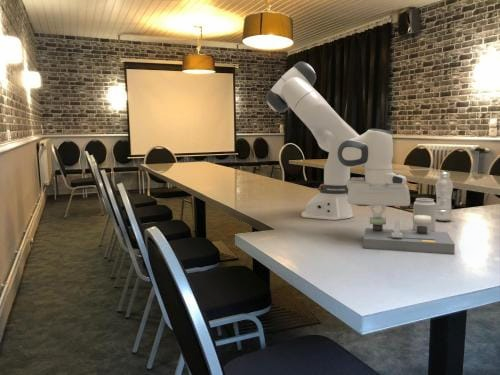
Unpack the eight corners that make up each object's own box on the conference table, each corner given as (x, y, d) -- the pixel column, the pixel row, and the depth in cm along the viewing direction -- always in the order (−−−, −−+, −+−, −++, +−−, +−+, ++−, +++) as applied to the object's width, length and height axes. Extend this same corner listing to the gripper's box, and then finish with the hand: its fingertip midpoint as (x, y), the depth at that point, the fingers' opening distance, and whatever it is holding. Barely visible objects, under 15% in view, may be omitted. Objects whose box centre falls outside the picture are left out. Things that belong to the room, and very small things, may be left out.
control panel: (363, 248, 130) (363, 232, 130) (365, 236, 145) (365, 222, 145) (454, 254, 122) (455, 237, 122) (446, 240, 137) (447, 226, 137)
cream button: (414, 222, 135) (414, 217, 134) (413, 219, 139) (413, 214, 139) (431, 223, 133) (431, 218, 133) (430, 220, 138) (430, 215, 138)
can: (433, 229, 155) (435, 197, 153) (435, 233, 148) (437, 200, 146) (412, 228, 157) (413, 196, 156) (413, 232, 150) (414, 199, 149)
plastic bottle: (454, 222, 166) (456, 172, 163) (436, 222, 167) (437, 172, 165) (449, 219, 172) (451, 171, 170) (432, 219, 173) (434, 171, 171)
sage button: (369, 224, 139) (369, 219, 139) (370, 221, 144) (370, 216, 144) (385, 225, 137) (385, 219, 137) (385, 222, 142) (385, 216, 142)
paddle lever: (391, 237, 129) (392, 221, 128) (391, 234, 133) (391, 218, 133) (402, 238, 128) (403, 221, 127) (402, 234, 132) (402, 218, 132)
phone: (361, 199, 224) (373, 203, 209) (361, 201, 224) (373, 206, 209) (347, 200, 223) (359, 204, 208) (347, 202, 223) (359, 206, 208)
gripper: (346, 177, 139) (345, 218, 141) (411, 179, 133) (409, 221, 134) (347, 176, 145) (347, 214, 147) (410, 177, 139) (408, 217, 140)
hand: (377, 218), depth 140 cm, fingers closed, pressing on sage button
